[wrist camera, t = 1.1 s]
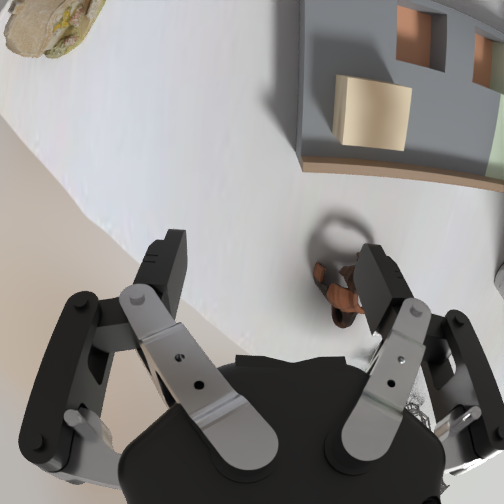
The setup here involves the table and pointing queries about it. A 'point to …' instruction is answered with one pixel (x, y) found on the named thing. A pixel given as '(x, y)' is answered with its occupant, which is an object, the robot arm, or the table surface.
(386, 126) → the maple block
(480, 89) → the board
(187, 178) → the table surface
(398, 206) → the table surface
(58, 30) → the ceramic model
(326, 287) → the brown curved piece
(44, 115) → the table surface
